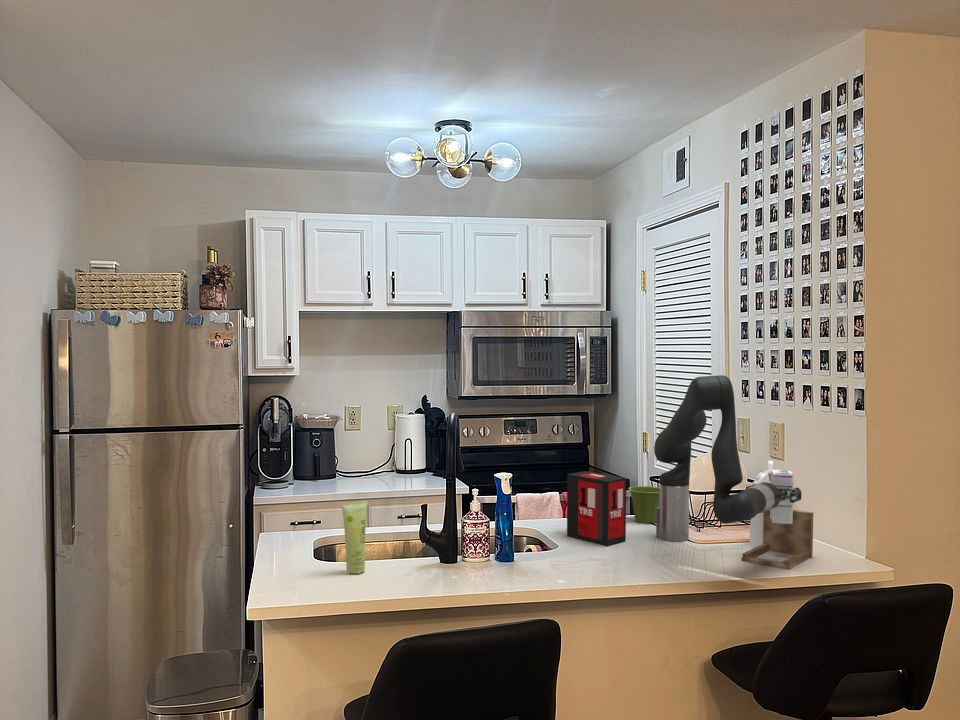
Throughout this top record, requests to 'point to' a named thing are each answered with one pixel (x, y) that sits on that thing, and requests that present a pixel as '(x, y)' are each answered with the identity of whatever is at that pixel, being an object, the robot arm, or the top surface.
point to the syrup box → (784, 508)
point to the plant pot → (645, 503)
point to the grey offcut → (772, 558)
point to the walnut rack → (785, 540)
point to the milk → (757, 521)
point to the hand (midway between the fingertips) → (784, 489)
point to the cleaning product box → (596, 508)
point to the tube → (355, 535)
